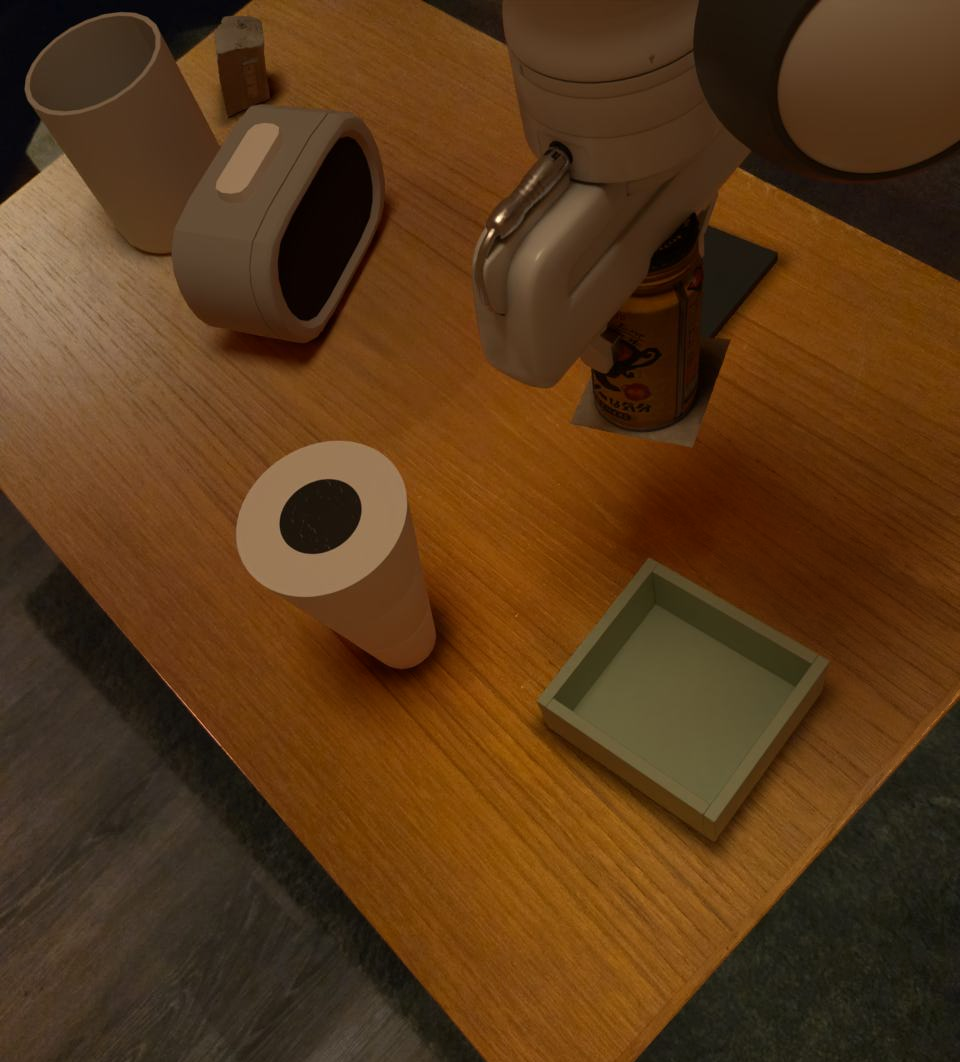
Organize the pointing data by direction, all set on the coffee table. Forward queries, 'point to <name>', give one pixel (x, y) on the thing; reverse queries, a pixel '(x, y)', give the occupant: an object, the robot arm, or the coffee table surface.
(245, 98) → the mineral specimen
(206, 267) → the alarm clock
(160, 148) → the cup
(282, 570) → the cup
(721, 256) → the mat
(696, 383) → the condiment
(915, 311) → the coffee table surface
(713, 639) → the tray
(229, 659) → the coffee table surface
